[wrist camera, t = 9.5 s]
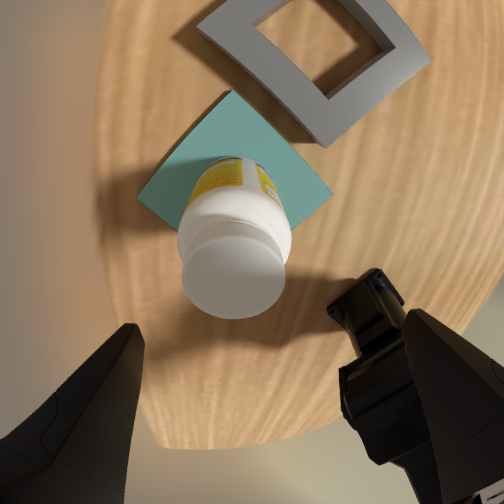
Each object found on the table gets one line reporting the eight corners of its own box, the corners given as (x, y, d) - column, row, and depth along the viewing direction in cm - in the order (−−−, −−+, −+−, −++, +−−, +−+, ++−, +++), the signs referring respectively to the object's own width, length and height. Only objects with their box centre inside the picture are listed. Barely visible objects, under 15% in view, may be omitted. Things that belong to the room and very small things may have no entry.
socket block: (416, 61, 14) (431, 60, 12) (317, 143, 17) (325, 148, 16) (316, -45, 9) (324, -56, 8) (200, 33, 13) (195, 26, 11)
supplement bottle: (185, 214, 19) (150, 310, 11) (211, 143, 17) (183, 192, 8) (255, 238, 21) (268, 342, 12) (287, 173, 18) (331, 246, 10)
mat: (331, 192, 19) (333, 194, 19) (236, 273, 23) (236, 277, 22) (233, 90, 15) (232, 90, 15) (138, 195, 19) (136, 197, 18)
